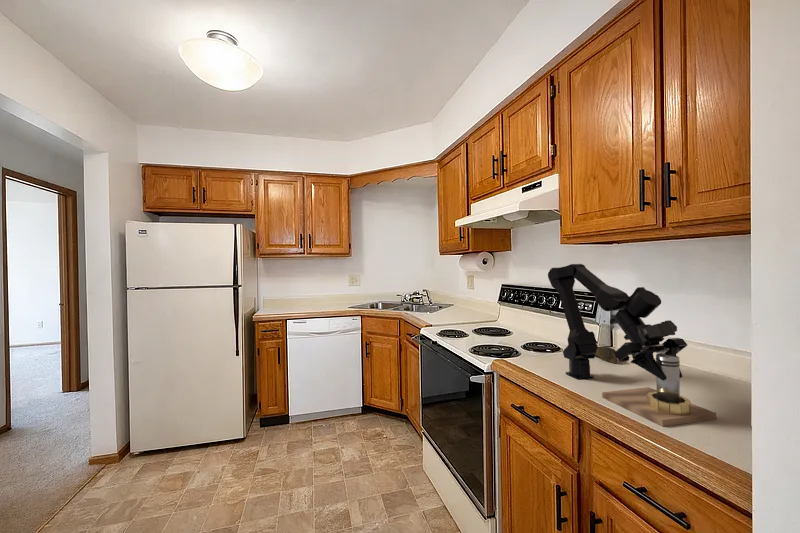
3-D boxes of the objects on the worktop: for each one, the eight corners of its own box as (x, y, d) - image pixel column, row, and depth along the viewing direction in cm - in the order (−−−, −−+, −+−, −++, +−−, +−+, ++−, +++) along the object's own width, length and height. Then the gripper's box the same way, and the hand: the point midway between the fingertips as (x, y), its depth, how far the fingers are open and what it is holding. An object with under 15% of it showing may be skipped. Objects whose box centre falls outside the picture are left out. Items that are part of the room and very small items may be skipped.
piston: (653, 397, 95) (652, 353, 94) (674, 399, 93) (674, 354, 93) (660, 405, 90) (660, 358, 90) (683, 407, 89) (683, 359, 88)
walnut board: (602, 397, 103) (602, 392, 103) (648, 392, 106) (648, 387, 106) (662, 426, 85) (662, 420, 85) (716, 419, 88) (716, 412, 88)
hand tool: (574, 350, 157) (574, 338, 157) (585, 350, 158) (584, 337, 158) (608, 365, 135) (608, 350, 135) (620, 364, 135) (620, 350, 135)
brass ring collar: (639, 402, 95) (639, 393, 95) (666, 399, 97) (666, 390, 97) (670, 416, 86) (670, 406, 86) (699, 412, 88) (699, 402, 88)
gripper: (623, 312, 93) (664, 366, 82) (679, 308, 97) (725, 359, 87) (600, 336, 101) (635, 388, 90) (653, 331, 105) (692, 380, 95)
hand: (672, 378), depth 90 cm, fingers closed on piston, 5 cm apart
